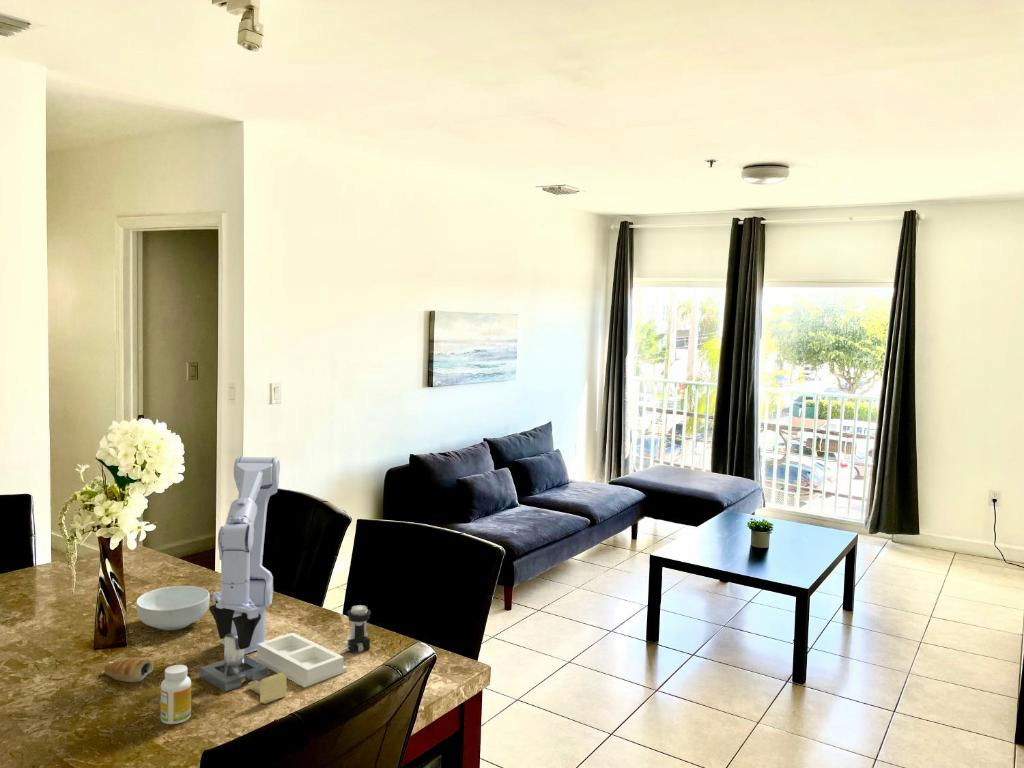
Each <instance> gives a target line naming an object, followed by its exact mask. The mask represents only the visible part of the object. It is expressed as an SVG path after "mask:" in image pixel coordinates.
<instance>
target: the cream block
mask: <svg viewBox="0 0 1024 768" xmlns="http://www.w3.org/2000/svg"><path fill="white" fill-rule="evenodd" d="M247 687H248V689H250V690H251V691H253V692H255V693H257V694H258V695H259V701H260V703H262V704H263V705H266V704H268V703H271V702H274V701H276V700H279V699H282V698H284V697H286V696H287V678H286V674H285V673H283V672H281V673H276V674H273V675H270V676H268V677H266V678H263V679H261V680H255V681H252V682H251V681H249V682H248V683H247Z"/></svg>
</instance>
